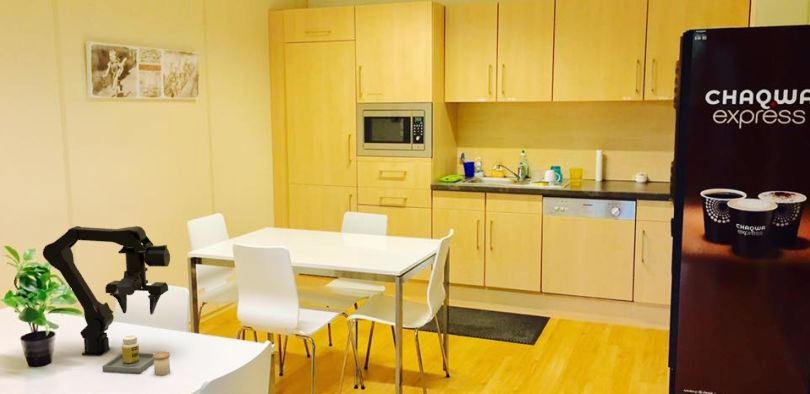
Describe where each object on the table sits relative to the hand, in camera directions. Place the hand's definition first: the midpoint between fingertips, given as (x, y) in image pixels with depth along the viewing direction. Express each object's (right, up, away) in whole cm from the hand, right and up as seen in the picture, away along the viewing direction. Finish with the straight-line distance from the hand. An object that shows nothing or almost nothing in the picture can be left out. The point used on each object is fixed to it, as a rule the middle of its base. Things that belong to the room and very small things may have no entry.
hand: (138, 313), depth 227 cm
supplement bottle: (+1, -14, -9) cm, 17 cm away
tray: (+2, -15, -9) cm, 17 cm away
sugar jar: (+13, -15, -15) cm, 25 cm away
